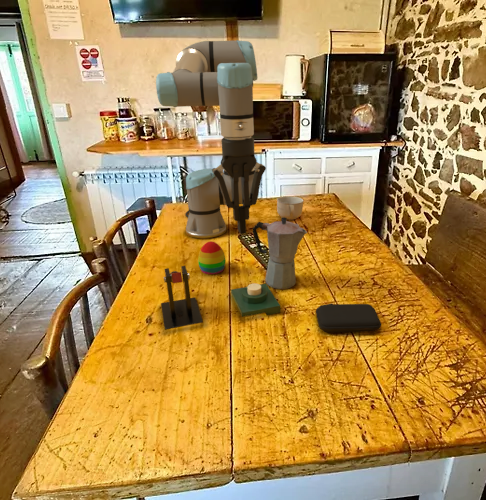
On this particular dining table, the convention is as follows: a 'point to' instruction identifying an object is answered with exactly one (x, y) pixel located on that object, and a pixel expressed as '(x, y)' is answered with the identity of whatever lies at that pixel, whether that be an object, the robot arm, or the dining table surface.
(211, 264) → the decorative egg
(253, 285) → the button
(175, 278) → the switch lever
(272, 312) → the control block
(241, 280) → the dining table surface
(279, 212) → the teacup
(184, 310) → the switch bracket
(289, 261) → the moka pot
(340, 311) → the carrying case
